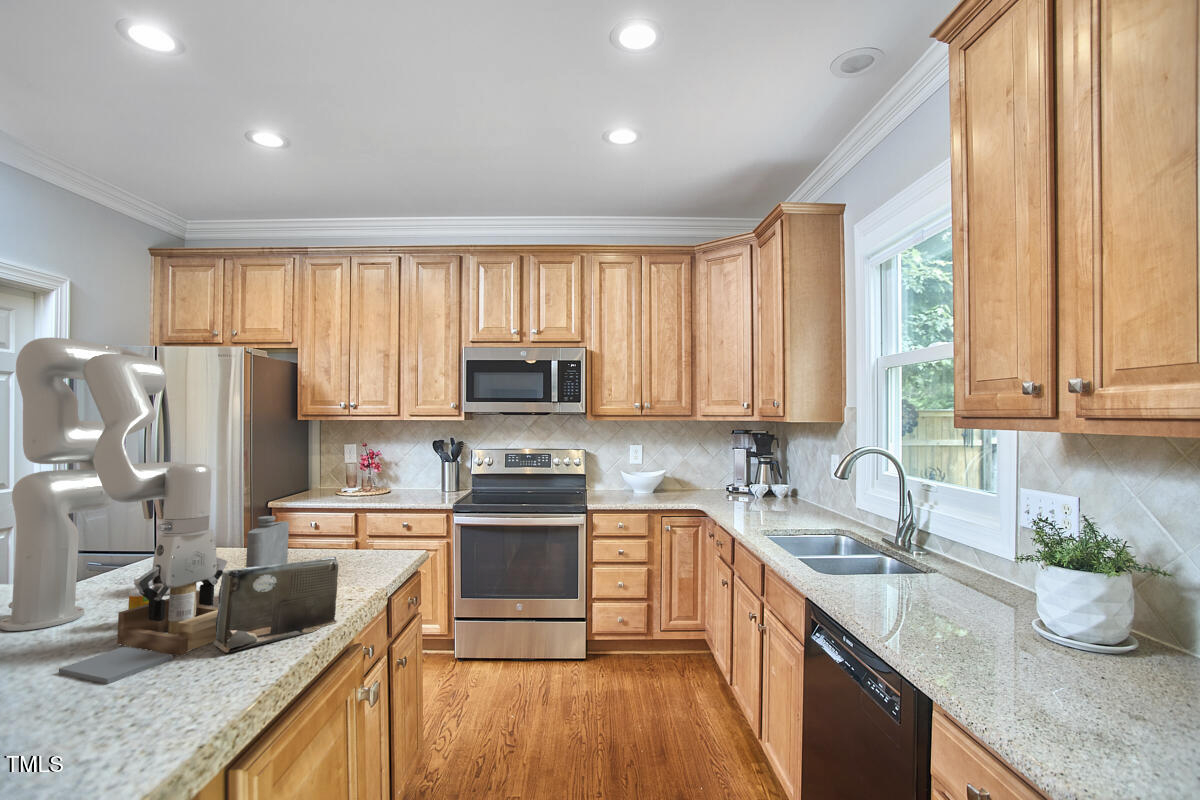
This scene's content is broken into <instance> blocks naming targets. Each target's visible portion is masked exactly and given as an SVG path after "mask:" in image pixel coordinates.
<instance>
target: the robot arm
mask: <svg viewBox="0 0 1200 800" xmlns="http://www.w3.org/2000/svg"><path fill="white" fill-rule="evenodd" d="M15 361H16V362H15V374H16V379H17V380H16V381H17V383H18V386H19V390H20V393H21V396H22V447H23V448H22V449H23V453H24V457H25V458H26V460H28V461H29V462H31V463H33V464H38V465H62V464H63V465H64V464H79V469H78V468H77V469H57V470H42V471H37V472H33V473H30V474H27V475H25V476H23V477H21V478H20V479H19V480H18V481H16V483H15V484H14V486H13V488H12V492H11V500H12V501H11V503H12V506H13V511H14V516H15V525H16V530H15V531H16V532H15V533H16V536H15V551H14V553H15V554H14V555H15V556H14V569H13V585H12V597H11V598H12V599H11V600H12V601H11V602H9V603H8V605H7V607H8V608H9V609H11V614H10V616H8V617H6V618H4V619H2V620H1V621H0V630H3V631H6V632H7V631H8V632H21V631H31V630H38V629H43V628H45V629H47V628H49V627H55V626H60V625H62V624H66V623H70V622H73V621H75V620H78V619H80V618H81V617H83V616H84V615H85V608H84V607H82V606H77V605H76V593H77V591H76V590H77V576H78V575H77V574H78V560H79V559H78V557H79V542H80V540H79V539H80V534H79V530H78V528H77V526H76V524H75V523H74V521H72V520H71V517H69V515H70V514H74V513H81V512H89V511H96V510H101V509H103V508H106V507H110V505H112V504H113V503H114V502H119V503H124V504H128V503H138V502H145V501H151V500H152V501H153V500H154V501H155V500H156V501H157V500H163V514H162V517H163V519H162V522H161V523H159V524H157V525H156V530H157V531H158V532H161V535H159V536H158V539H157V542H156V547H155V550H154V555H153V560H152V561H153V562H152V568H151V569H150V570H148V571H147V572H146V573H144V574H143V576H142V575H140V576H141V577H140V578H138V579H137V580H136V581H135V585H136V587H137V588H138V590H139V593H140V594H141V595H143V596H144V597H145V598H146V599H147V600H149V609H148V616H149V620H153V621H163V620H164V613H165V599H163V597H164V596H165V595H166V594H165V593H166V592H167V591H168V589H169V588H177V587H181V586H185V585H189V584H192V583H196V582H200V581H201V582H202V583H203V584H202V585H200V589H199V590H198V591H199V604H200V605H202V606H209V607H212V606H213V605H214V598H215V586H217V584H218V583H219V579H220V578H222V573H223V572H224V571H225V568H226V567H227V563H228V560H227V559H226V560H225V559H224V558H223V559H222V558H221V557H217V545H216V544H217V543H216V538H215V534H214V530H213V529H210V517H211V516H210V515H211V514H210V510H211V495H212V494H211V491H212V469H211V467H210V466H209V465H207V464H203V463H202V464H201V463H188V464H187V463H182V462H176V461H175V462H174V461H164V462H141V463H140V462H139V463H132V462H131V459H130V457H129V454H128V452H127V449H126V437H127V436H128V435H131V434H134V433H136V432H138V431H141V430H143V429H145V428H148V426H150V425H151V424H153V422H155V420H156V418H157V413H156V409H155V408H154V407H153V404H152V402H151V400H150V396H154V395H157V394H159V393H161V392H162V391H163V390H164V389H165V387H166V385H167V381H168V380H167V378H168V377H167V372H166V370H165V367H164V366H163V365H162V364H161V363H160V362H158V361H157V360H156V359H154V358H152V357H149V356H146V355H144V354H141V353H137V352H135V351H132V350H129V349H127V348H124V347H121V346H116V345H112V344H106V343H97V342H92V341H85V340H81V339H80V340H79V339H72V338H65V337H41V338H40V337H39V338H36V339H33V340H30V341H29V342H27V343H26V344H25V345H23V347H22V348H21V349H20V351H19V353H18V354H17V357H16V360H15ZM65 379H73V380H80V381H81V380H82V381H85V382H86V385H87V387H88V388H89V389H88V390H89V392H90V394H91V396H92V398H93V400H94V404H95V405H96V408H97V410H98V412H99V415H100V417H101V419H102V421H98V420H80V417H79V401H78V397H77V396H76V394H75V392H74V391H73V390H72V388H71V387H70V386H69V385H68V383H66V382H65V381H64V380H65ZM68 514H69V515H68ZM151 580H152V584H153V587H152V588H150V587H149V585H148V583H149V582H150V581H151ZM135 585H134V586H135Z"/></svg>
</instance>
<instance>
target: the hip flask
mask: <svg viewBox="0 0 1200 800" xmlns="http://www.w3.org/2000/svg"><path fill="white" fill-rule="evenodd" d="M257 521H258V522H259V523H258V527H256V528H254V529H251V530H249V531H248V532H247V536H246V537H247V541H246V562H245V563H246V564H245V565H246V566H245V568H248V567H263V566H271V565H277V564H286V563H288V558H289V557H288V554H289V552H288V550H289V548H288V547H289V531H290V530H289V529H290V524H289V523H290V522H289V521H276V516H275V515H264V516H258V517H257Z"/></svg>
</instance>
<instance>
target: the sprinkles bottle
mask: <svg viewBox="0 0 1200 800" xmlns="http://www.w3.org/2000/svg"><path fill="white" fill-rule="evenodd" d="M168 597H169V615H168V620H169V623H168V631H167V634H173V635H178V632H179V631H177V629H178V622H181V621H184V620H188V619H191V618H194V617H195V615H196V583H192V584H189V585H185V586H181V587H177V588H170V594H169V595H168Z"/></svg>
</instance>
